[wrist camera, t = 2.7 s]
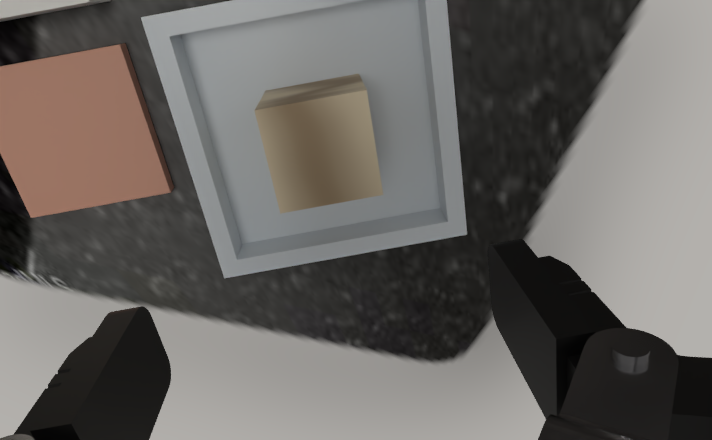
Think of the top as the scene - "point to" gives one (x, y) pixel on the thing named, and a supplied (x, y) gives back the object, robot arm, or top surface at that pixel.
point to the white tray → (38, 7)
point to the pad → (79, 132)
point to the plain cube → (319, 143)
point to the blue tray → (299, 66)
